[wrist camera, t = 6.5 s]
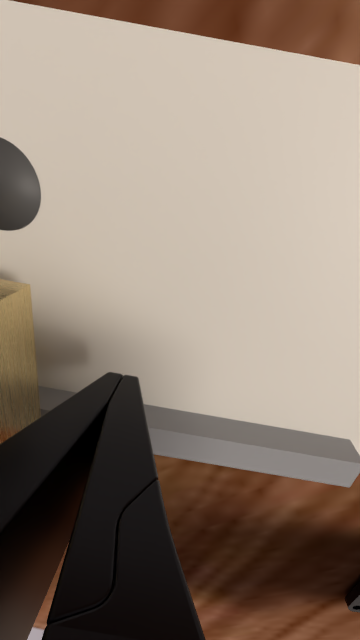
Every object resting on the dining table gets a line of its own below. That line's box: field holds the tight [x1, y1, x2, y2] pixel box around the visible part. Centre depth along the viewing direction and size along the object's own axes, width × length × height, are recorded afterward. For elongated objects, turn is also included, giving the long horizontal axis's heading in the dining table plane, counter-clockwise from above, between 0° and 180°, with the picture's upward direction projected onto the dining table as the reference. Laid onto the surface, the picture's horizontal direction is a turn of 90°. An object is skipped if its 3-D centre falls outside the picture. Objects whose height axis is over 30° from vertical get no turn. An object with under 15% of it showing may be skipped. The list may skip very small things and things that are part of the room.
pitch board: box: [0, 0, 360, 487], centre depth 6 cm, size 12×24×6 cm, turn 81°
